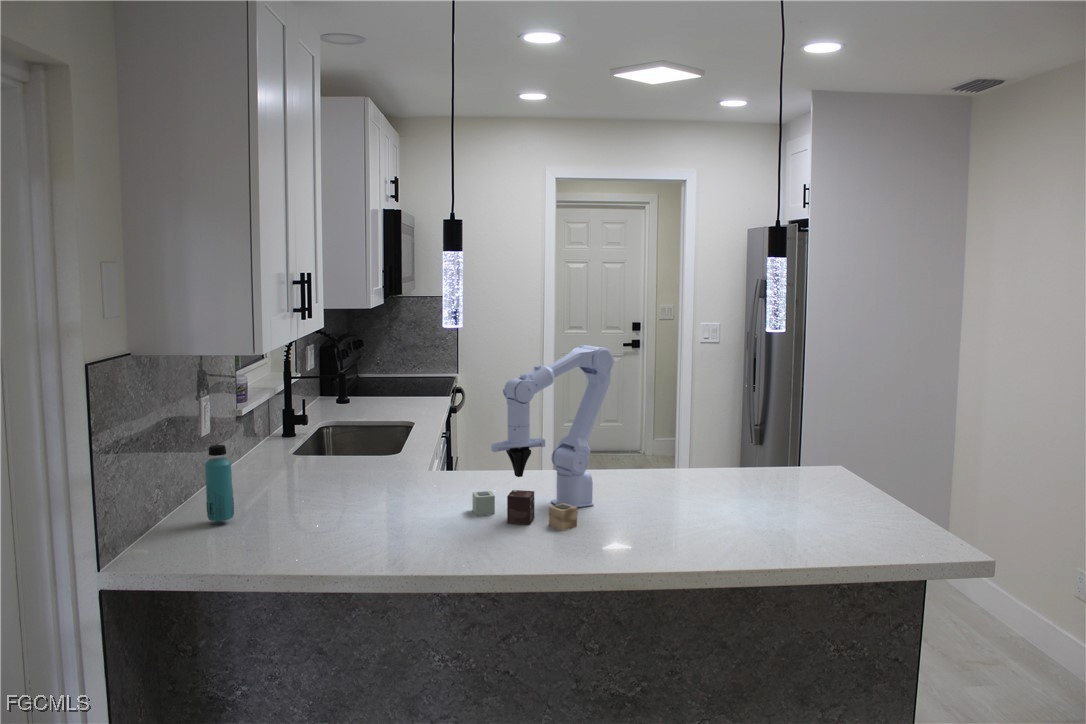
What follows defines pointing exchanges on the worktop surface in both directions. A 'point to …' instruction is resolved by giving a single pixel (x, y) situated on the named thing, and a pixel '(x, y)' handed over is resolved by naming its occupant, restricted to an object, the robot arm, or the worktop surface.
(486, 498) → the sage marked block
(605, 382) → the robot arm
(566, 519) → the oak marked block
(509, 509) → the box
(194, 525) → the worktop surface
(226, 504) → the beverage bottle
